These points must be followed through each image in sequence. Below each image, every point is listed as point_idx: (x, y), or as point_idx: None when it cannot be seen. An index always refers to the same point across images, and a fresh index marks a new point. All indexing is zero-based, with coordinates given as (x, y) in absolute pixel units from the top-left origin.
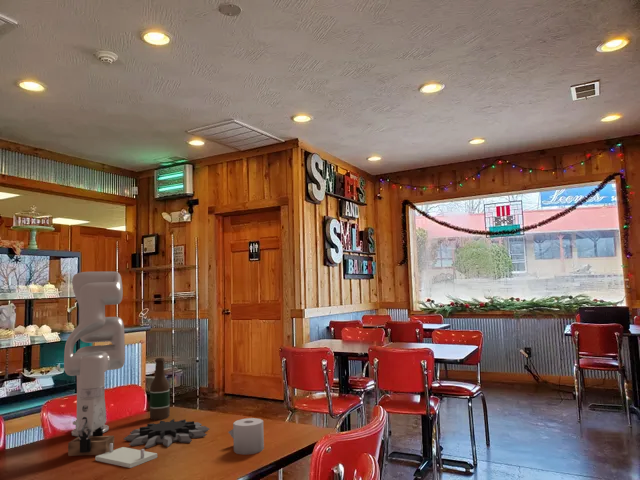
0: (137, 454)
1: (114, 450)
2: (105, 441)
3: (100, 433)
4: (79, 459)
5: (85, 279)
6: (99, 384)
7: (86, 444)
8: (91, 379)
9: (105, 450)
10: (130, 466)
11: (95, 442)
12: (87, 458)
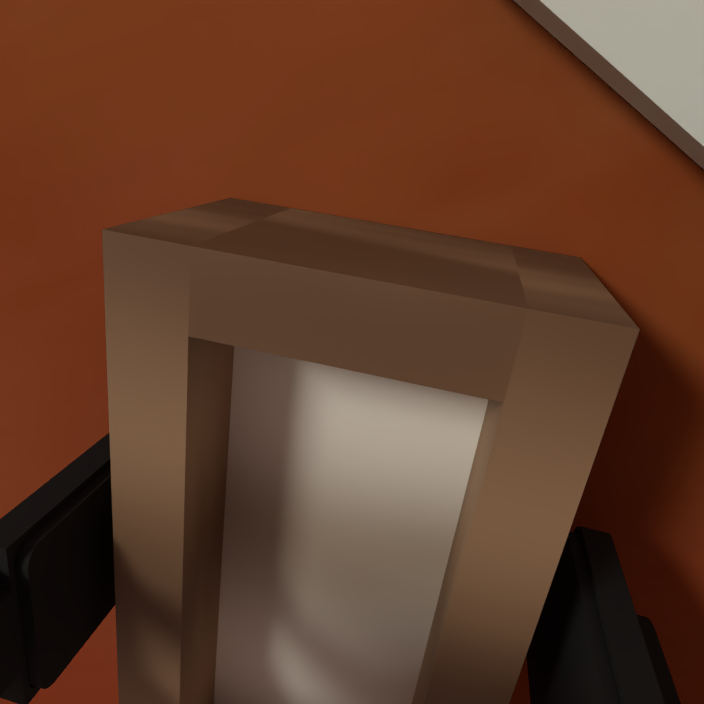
0: None
1: (679, 64)
2: (634, 335)
3: (51, 553)
4: (688, 593)
5: None
6: None
7: (671, 696)
8: None
9: (591, 276)
10: None
11: (553, 550)
12: (690, 500)
